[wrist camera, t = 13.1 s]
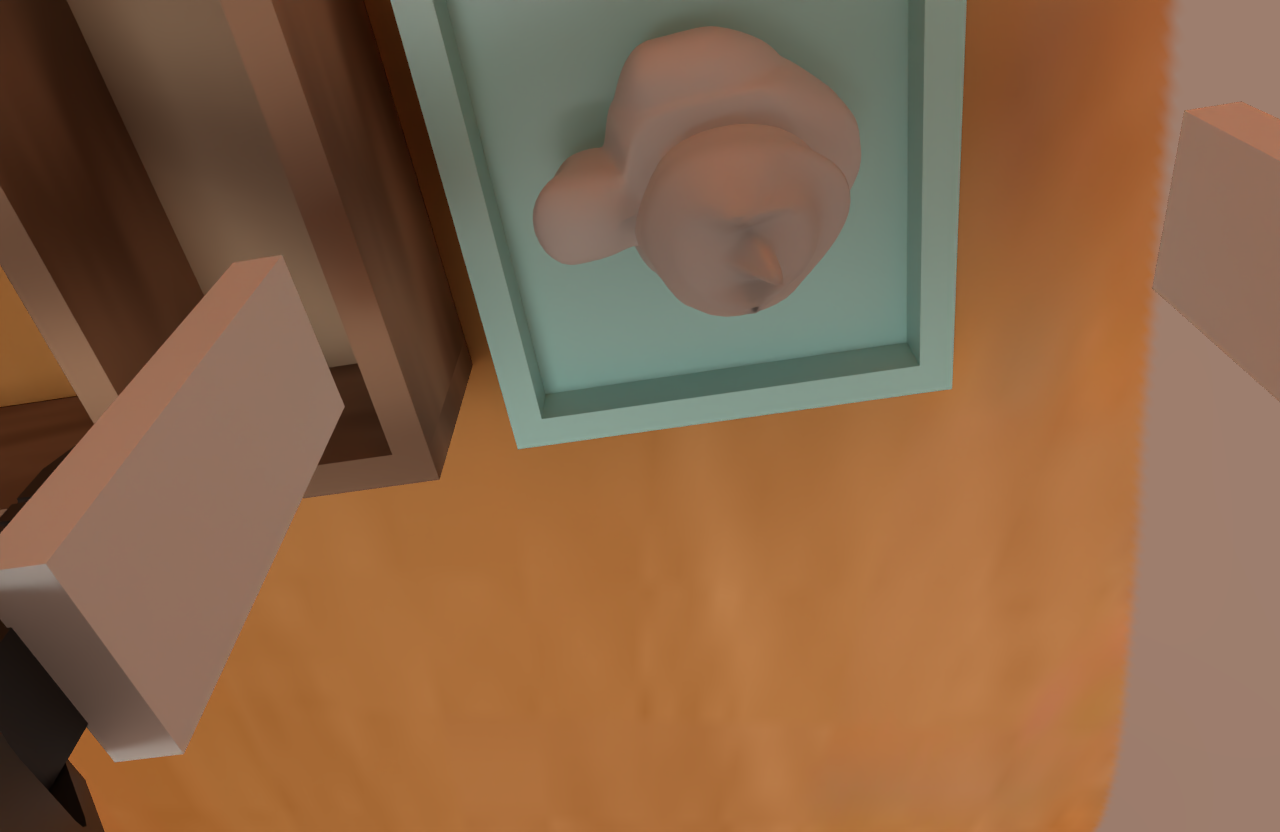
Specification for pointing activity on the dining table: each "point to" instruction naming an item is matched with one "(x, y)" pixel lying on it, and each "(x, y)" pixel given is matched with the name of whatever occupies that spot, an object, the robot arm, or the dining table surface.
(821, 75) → the tray
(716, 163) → the rubber duck
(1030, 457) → the dining table surface
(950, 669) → the dining table surface
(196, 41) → the organizer
